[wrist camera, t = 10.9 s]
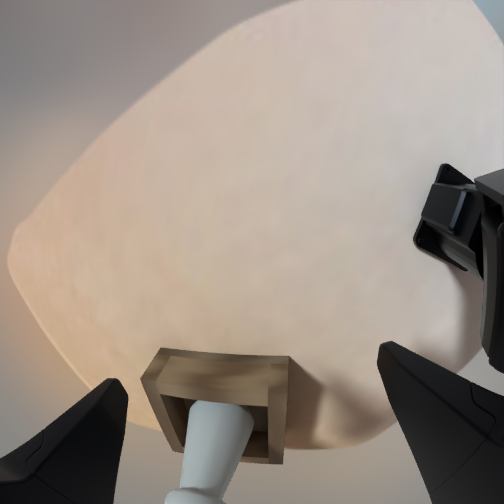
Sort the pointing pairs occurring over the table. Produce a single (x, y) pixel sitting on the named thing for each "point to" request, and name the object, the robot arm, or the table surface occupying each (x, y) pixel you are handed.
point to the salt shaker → (211, 451)
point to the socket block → (221, 395)
